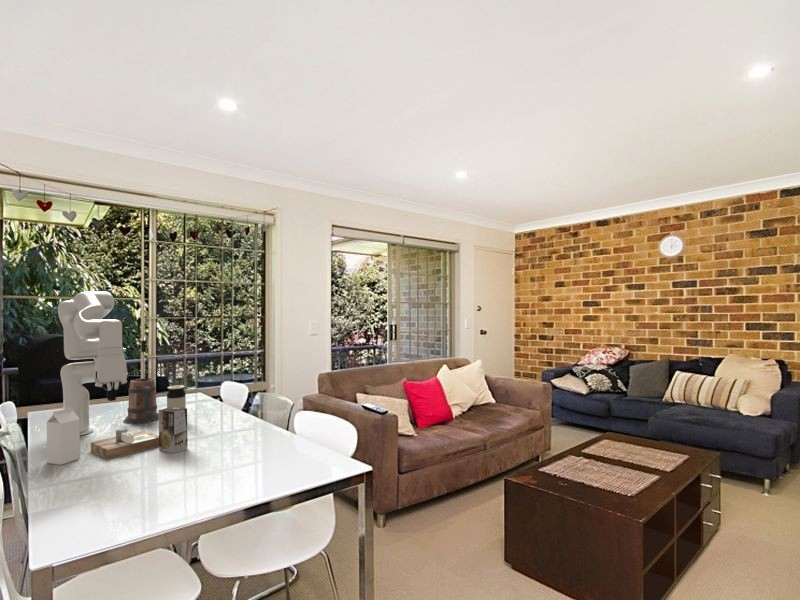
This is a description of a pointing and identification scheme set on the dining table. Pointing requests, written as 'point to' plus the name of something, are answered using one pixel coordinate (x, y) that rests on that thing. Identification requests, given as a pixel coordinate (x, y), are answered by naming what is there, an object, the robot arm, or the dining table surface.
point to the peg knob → (124, 436)
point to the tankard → (142, 402)
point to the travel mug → (176, 396)
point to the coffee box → (173, 429)
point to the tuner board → (125, 445)
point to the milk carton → (63, 437)
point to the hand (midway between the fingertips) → (111, 400)
